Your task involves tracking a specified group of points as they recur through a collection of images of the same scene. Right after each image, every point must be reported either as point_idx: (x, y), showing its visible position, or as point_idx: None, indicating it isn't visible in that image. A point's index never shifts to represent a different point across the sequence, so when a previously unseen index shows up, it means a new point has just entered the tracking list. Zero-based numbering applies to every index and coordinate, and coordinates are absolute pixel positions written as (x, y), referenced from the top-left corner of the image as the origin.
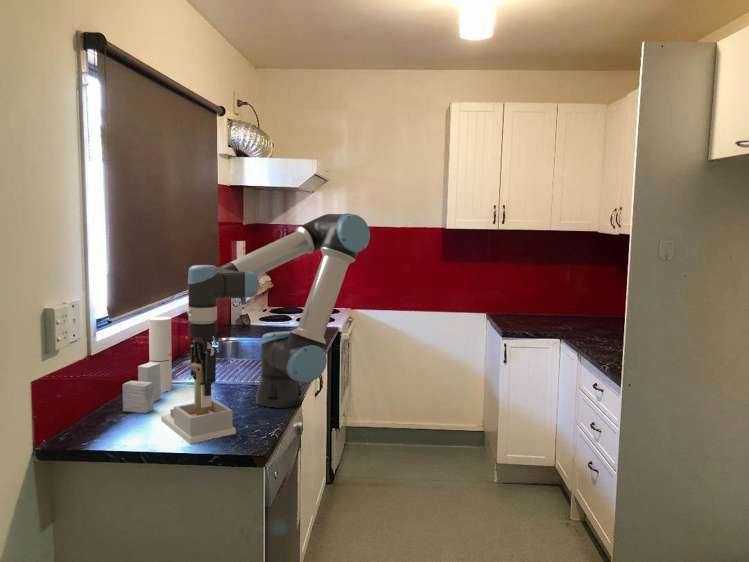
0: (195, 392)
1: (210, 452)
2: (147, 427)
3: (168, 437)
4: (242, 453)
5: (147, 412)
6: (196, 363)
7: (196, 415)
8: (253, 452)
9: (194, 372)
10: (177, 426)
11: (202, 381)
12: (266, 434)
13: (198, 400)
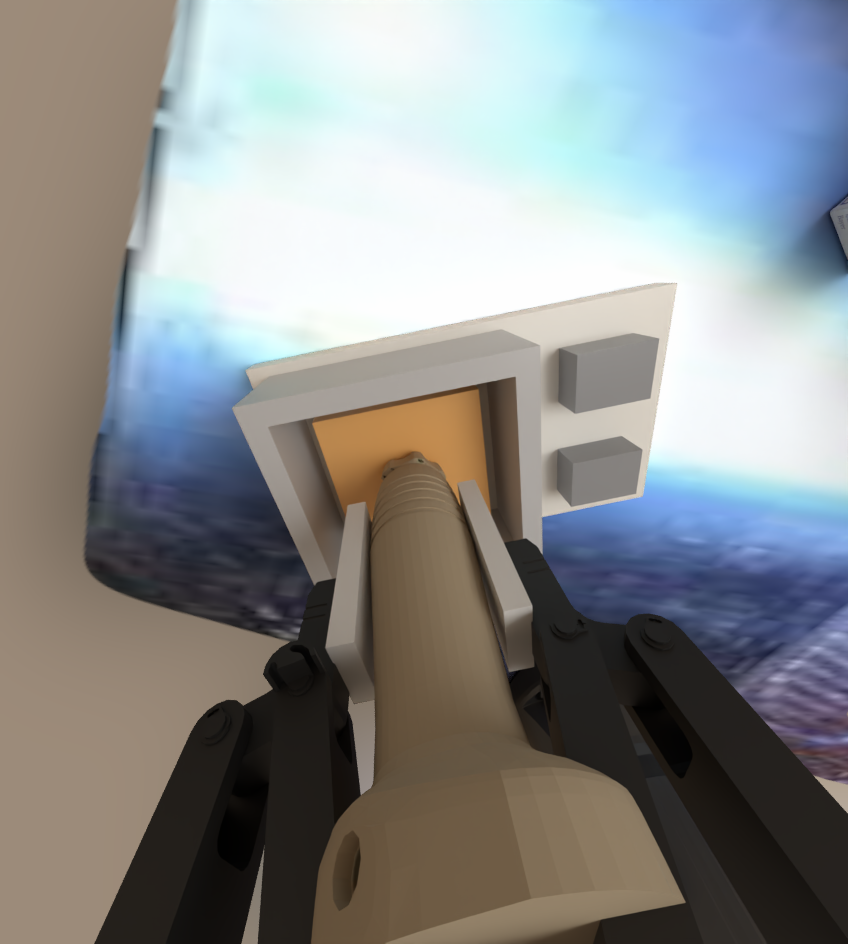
0: (473, 530)
1: (121, 429)
2: (601, 177)
3: (383, 273)
4: (99, 533)
5: (835, 227)
6: (603, 921)
7: (449, 452)
8: (108, 565)
9: (580, 693)
10: (450, 339)
11: (322, 684)
12: (289, 621)
13: (386, 514)
